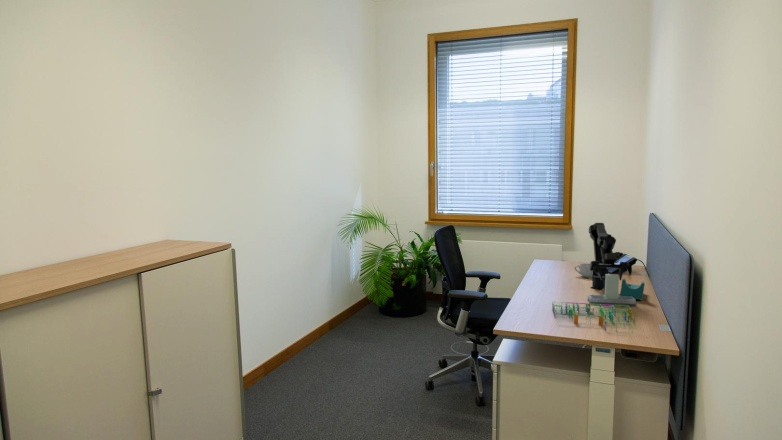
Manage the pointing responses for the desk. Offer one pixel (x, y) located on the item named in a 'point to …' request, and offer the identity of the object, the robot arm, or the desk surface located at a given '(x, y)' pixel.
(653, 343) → the desk surface
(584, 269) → the teacup
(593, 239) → the robot arm
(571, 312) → the house model
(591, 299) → the door track
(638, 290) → the teal curved piece
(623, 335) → the desk surface
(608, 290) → the door panel
